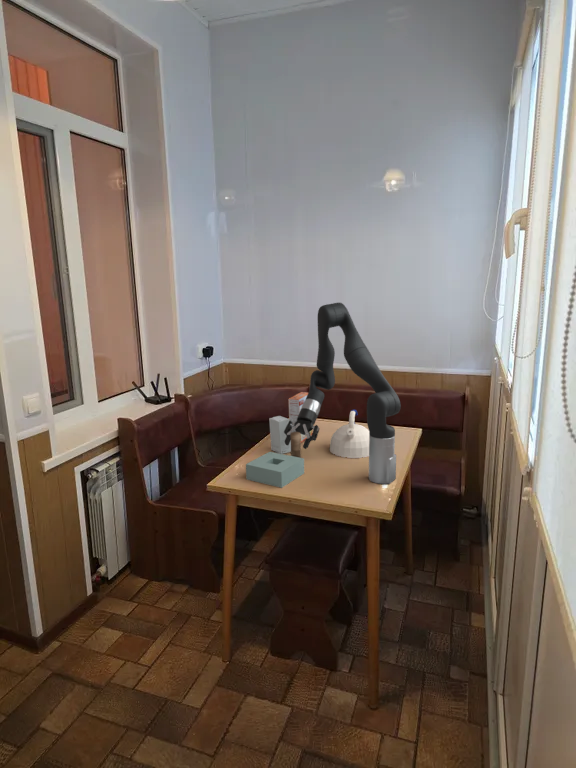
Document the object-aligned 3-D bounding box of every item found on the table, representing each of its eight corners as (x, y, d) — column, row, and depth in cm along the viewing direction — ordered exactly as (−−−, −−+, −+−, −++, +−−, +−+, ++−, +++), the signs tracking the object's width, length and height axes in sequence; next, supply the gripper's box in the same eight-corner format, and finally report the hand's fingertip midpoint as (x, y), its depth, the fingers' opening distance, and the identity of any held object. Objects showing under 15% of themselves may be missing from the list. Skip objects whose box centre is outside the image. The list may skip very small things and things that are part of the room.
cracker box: (301, 433, 249) (300, 391, 244) (312, 435, 246) (312, 392, 242) (288, 442, 236) (287, 397, 232) (300, 443, 234) (299, 399, 229)
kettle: (325, 457, 217) (325, 415, 213) (333, 441, 236) (333, 403, 232) (374, 460, 212) (375, 418, 208) (377, 444, 231) (378, 405, 228)
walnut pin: (302, 463, 210) (302, 432, 207) (297, 466, 207) (297, 435, 204) (294, 461, 212) (293, 431, 209) (289, 464, 209) (288, 433, 206)
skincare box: (291, 452, 223) (291, 419, 220) (279, 455, 220) (279, 421, 217) (281, 446, 230) (280, 414, 227) (269, 449, 227) (268, 417, 224)
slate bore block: (304, 473, 199) (304, 458, 198) (281, 487, 186) (281, 472, 185) (270, 465, 208) (269, 451, 207) (246, 479, 195) (245, 464, 193)
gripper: (291, 405, 216) (276, 439, 209) (321, 409, 208) (307, 444, 201) (298, 414, 221) (284, 447, 214) (327, 419, 214) (314, 453, 207)
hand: (295, 446), depth 208 cm, fingers open, 8 cm apart
